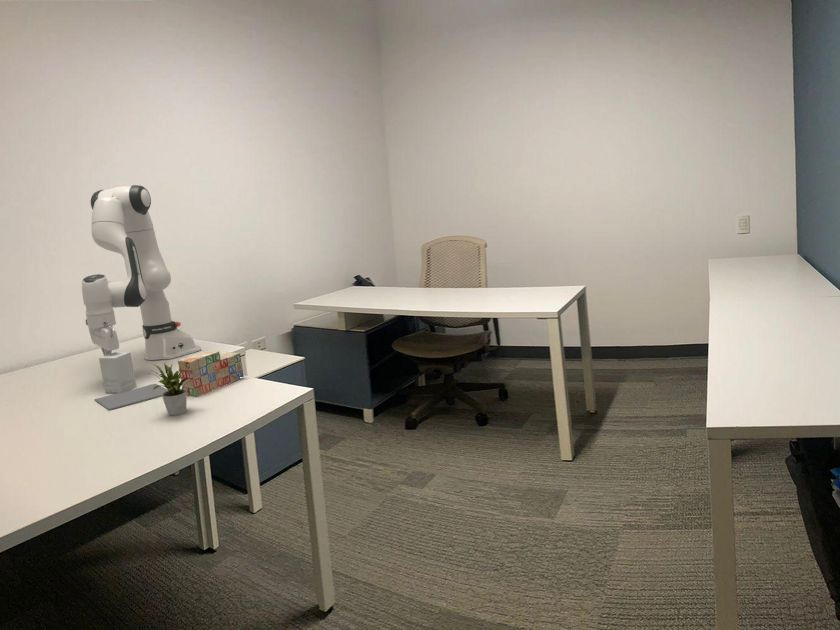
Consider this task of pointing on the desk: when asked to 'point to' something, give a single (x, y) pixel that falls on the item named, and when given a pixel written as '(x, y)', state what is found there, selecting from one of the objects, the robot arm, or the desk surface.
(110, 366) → the supplement box
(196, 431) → the desk surface
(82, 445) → the desk surface
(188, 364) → the stack of blocks
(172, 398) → the house plant
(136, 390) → the mat
